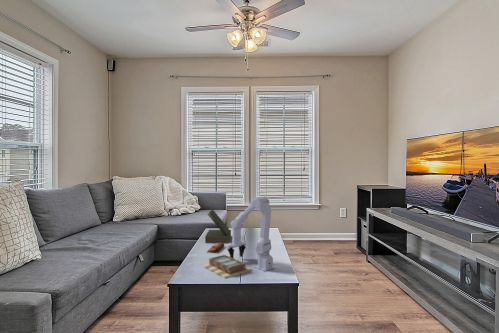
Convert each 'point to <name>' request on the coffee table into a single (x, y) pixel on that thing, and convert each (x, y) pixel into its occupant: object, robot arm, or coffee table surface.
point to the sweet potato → (216, 248)
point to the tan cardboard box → (227, 264)
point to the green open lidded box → (217, 235)
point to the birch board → (222, 273)
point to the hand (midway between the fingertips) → (236, 257)
